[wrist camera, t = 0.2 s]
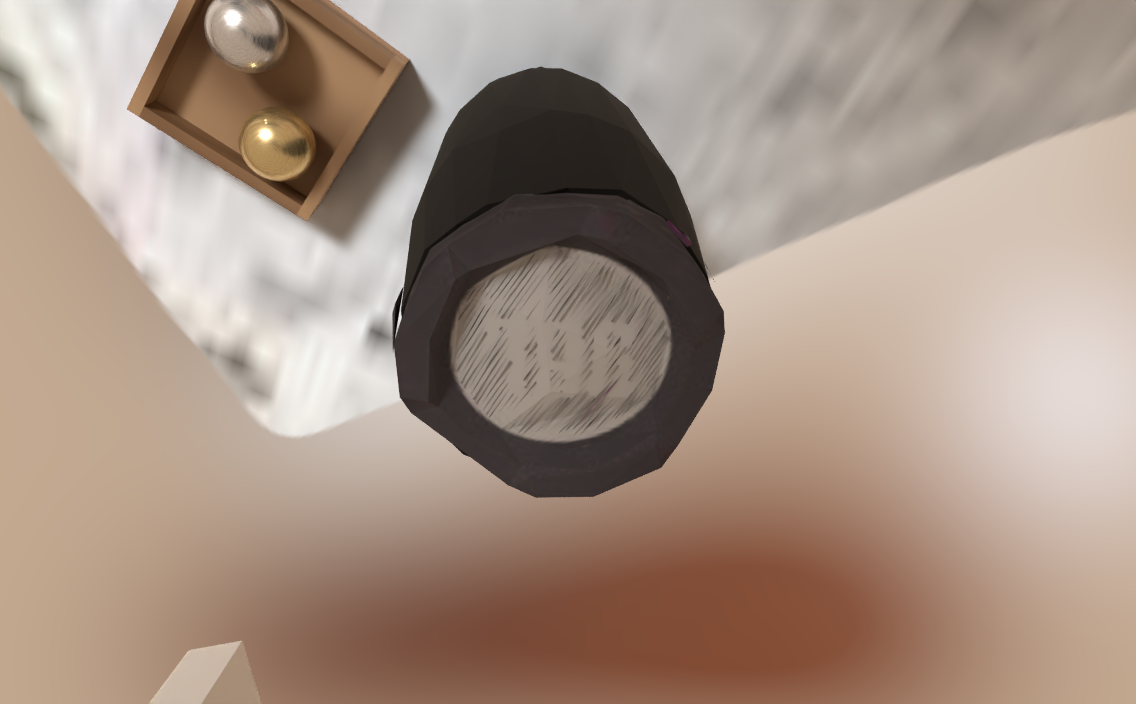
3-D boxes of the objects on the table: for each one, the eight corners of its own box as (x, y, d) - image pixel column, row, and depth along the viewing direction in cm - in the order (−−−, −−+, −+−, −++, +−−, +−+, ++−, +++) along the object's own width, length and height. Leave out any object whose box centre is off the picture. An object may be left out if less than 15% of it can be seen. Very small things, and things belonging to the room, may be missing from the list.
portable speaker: (611, 26, 32) (724, 124, 15) (648, 230, 36) (767, 486, 19) (418, 75, 32) (307, 224, 15) (477, 270, 37) (445, 555, 20)
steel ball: (240, -31, 29) (213, -28, 26) (310, 20, 30) (291, 27, 27) (207, 35, 30) (177, 44, 28) (276, 82, 31) (253, 95, 28)
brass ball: (271, 85, 31) (249, 98, 29) (336, 128, 32) (319, 145, 30) (239, 143, 32) (214, 161, 30) (302, 184, 33) (284, 204, 31)
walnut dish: (233, -71, 29) (213, -72, 27) (409, 59, 32) (402, 66, 30) (150, 99, 32) (126, 109, 30) (318, 205, 35) (306, 221, 33)
